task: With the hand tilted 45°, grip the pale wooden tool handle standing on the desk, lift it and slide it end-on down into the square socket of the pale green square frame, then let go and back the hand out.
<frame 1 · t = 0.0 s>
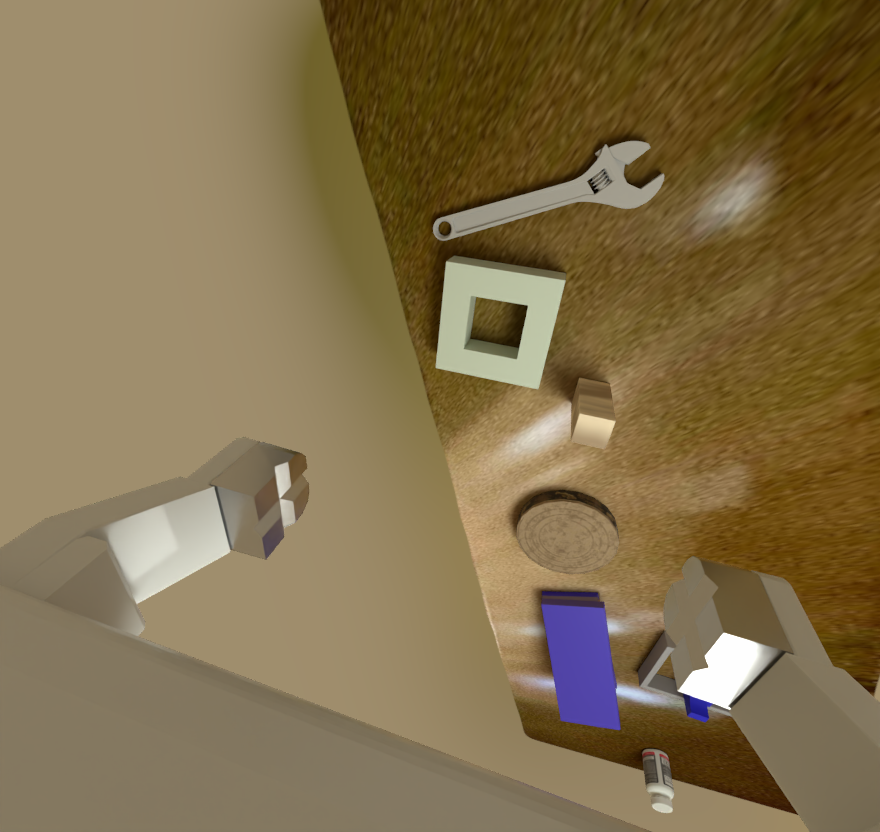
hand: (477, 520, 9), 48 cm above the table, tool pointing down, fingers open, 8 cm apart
pale green square frame: (499, 318, 56), on the table
pill bottle: (654, 753, 96), on the table
adjustable wrench: (539, 194, 48), on the table
stapler: (581, 636, 83), on the table
clip corral: (707, 669, 77), on the table
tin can: (566, 525, 70), on the table
blue cradle holder: (707, 669, 77), resting in clip corral
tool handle: (590, 393, 57), on the table
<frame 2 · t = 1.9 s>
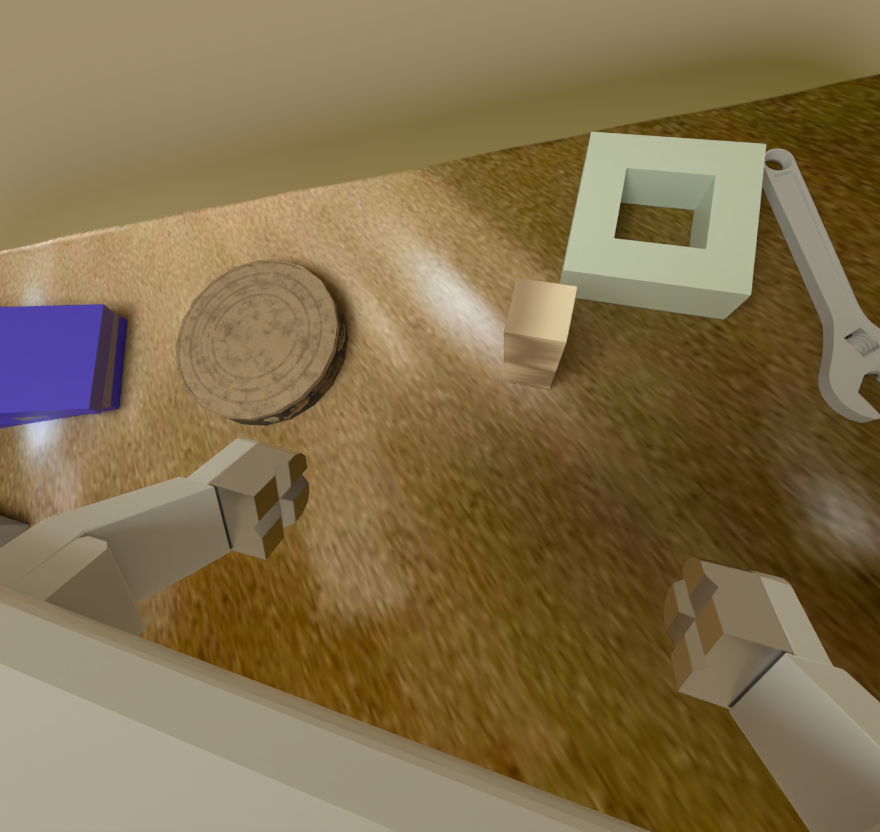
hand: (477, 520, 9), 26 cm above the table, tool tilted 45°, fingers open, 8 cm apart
pale green square frame: (648, 238, 38), on the table
adjustable wrench: (821, 281, 36), on the table
stapler: (15, 385, 45), on the table
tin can: (272, 349, 42), on the table
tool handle: (530, 364, 37), on the table
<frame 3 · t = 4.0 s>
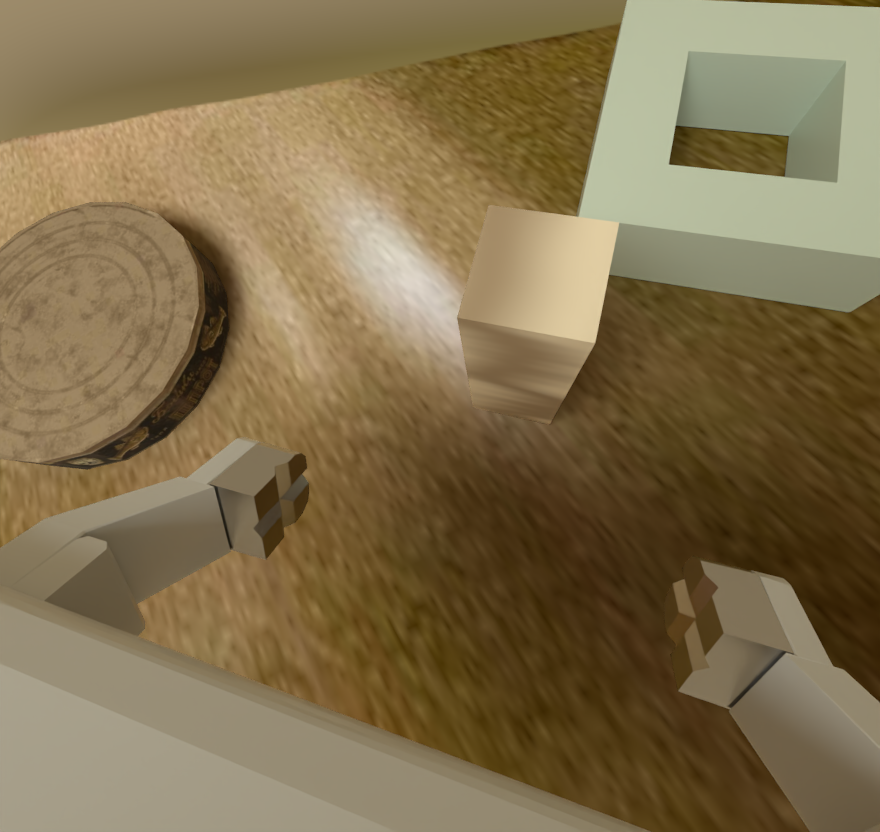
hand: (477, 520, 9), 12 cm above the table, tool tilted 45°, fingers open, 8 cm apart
pale green square frame: (714, 179, 24), on the table
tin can: (116, 344, 27), on the table
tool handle: (519, 380, 22), on the table
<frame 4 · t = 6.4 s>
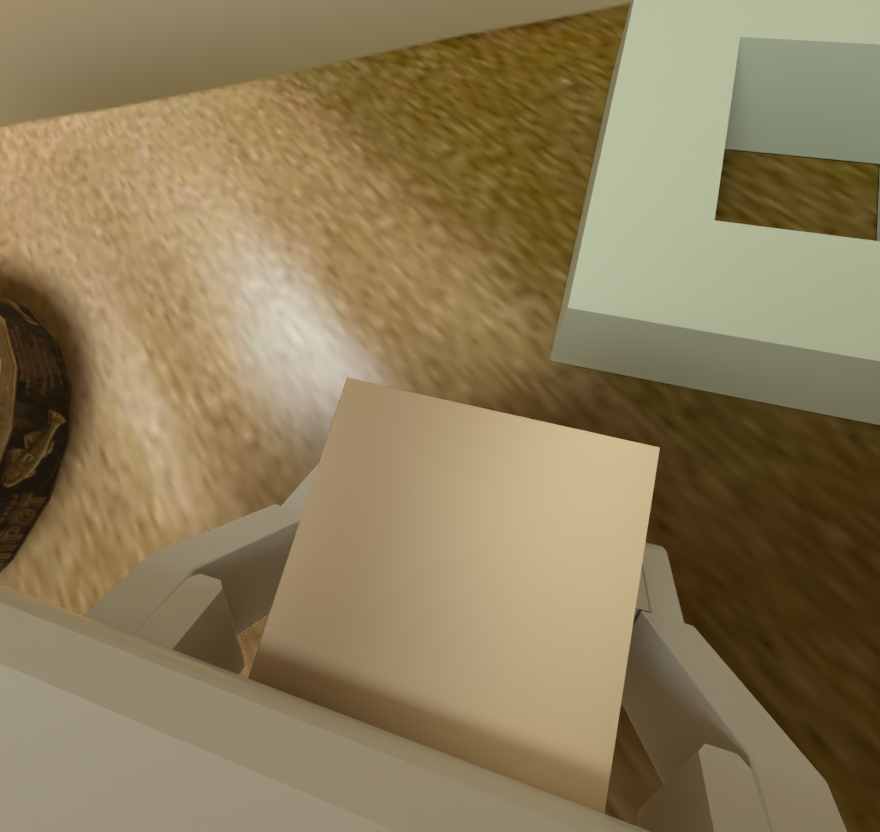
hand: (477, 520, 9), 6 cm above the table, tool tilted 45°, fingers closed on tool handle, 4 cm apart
pale green square frame: (771, 228, 16), on the table
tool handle: (479, 540, 14), on the table, touching gripper
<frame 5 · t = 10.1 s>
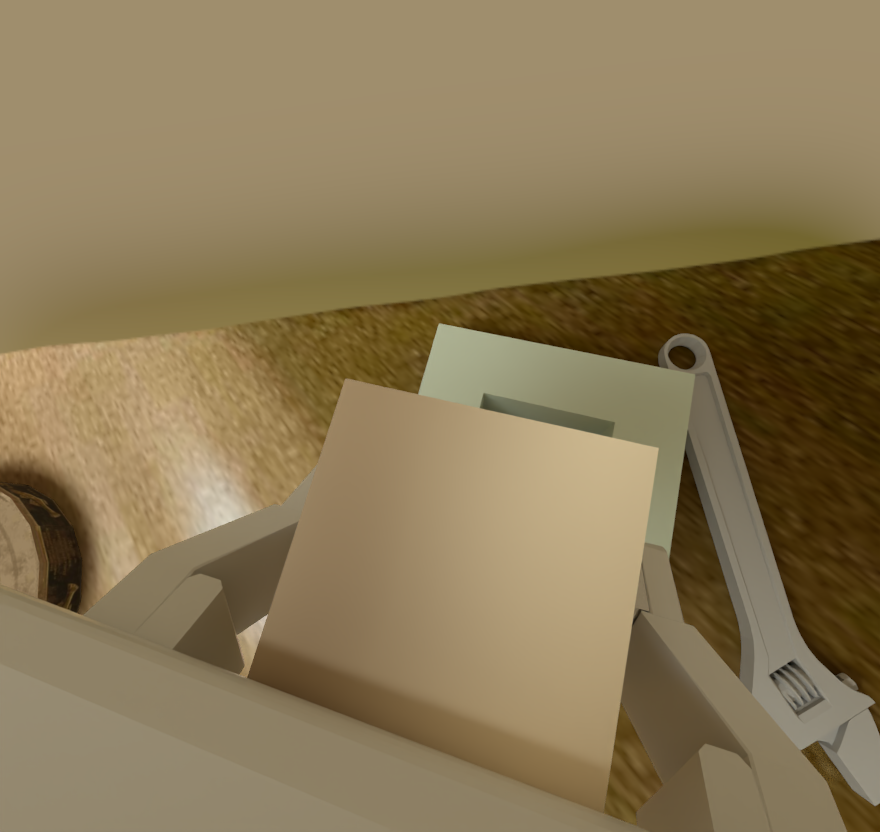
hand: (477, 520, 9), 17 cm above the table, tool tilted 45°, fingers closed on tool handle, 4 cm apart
pale green square frame: (526, 478, 25), on the table
adjustable wrench: (744, 548, 24), on the table
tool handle: (479, 540, 14), point 11 cm above the table, touching gripper
when the fingers open (7 cm above the table, at t = 13.8 s): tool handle drops 1 cm, resting in pale green square frame.
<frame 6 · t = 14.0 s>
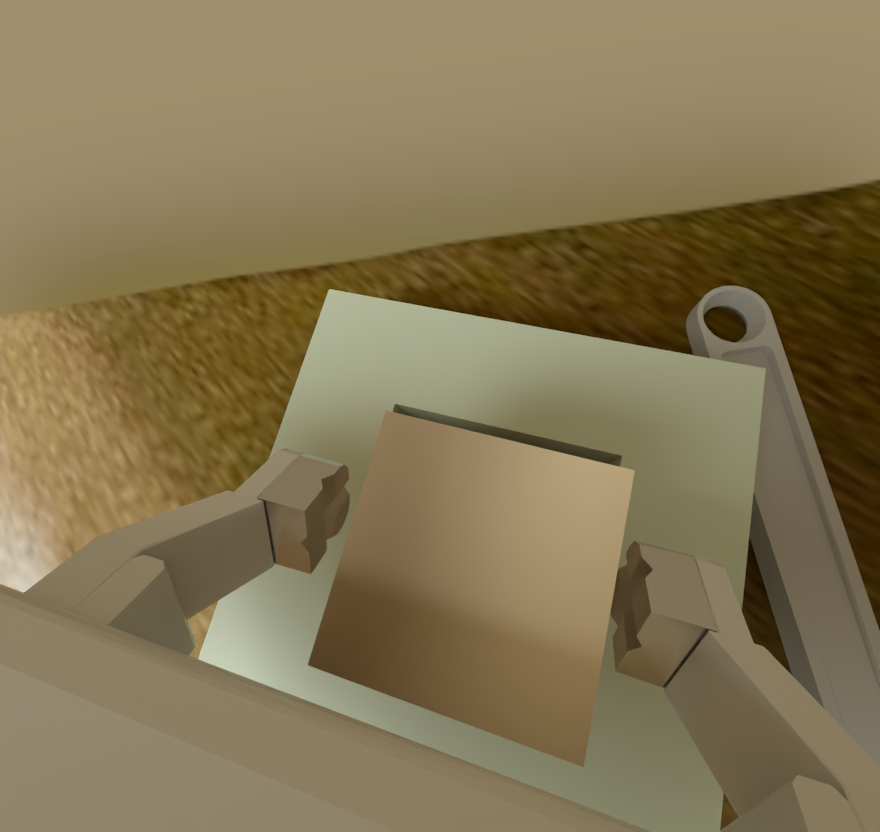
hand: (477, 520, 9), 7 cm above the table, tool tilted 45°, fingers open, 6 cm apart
pale green square frame: (479, 539, 16), on the table
adjustable wrench: (828, 638, 14), on the table, touching pale green square frame
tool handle: (484, 539, 16), resting in pale green square frame
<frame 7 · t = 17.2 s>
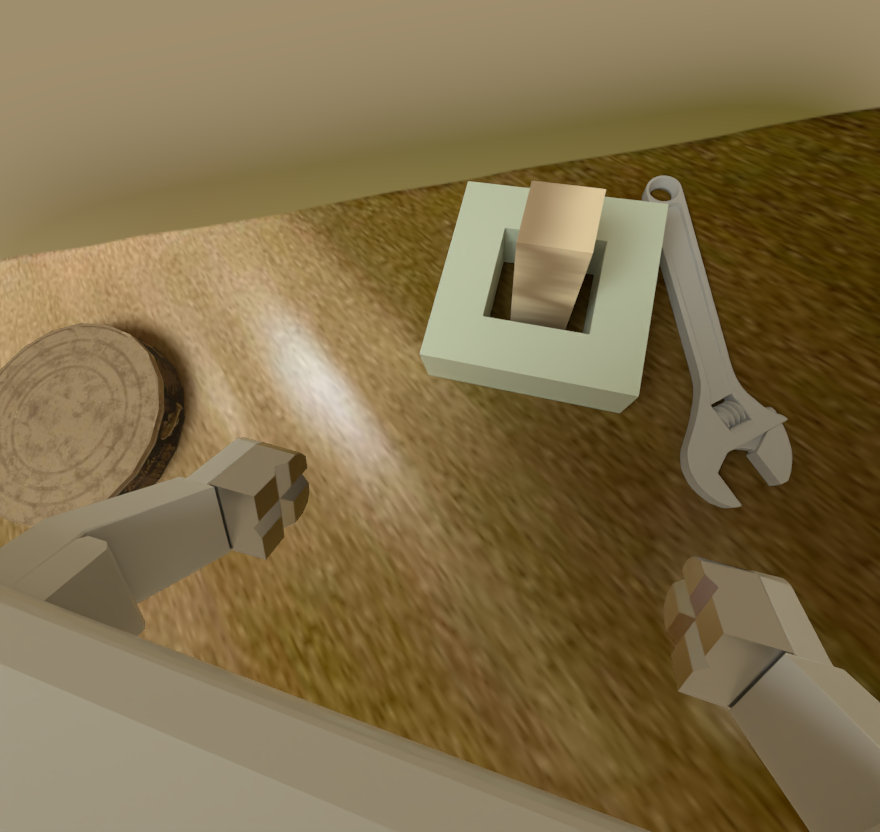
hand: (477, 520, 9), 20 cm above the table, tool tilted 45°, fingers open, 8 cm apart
pale green square frame: (539, 307, 32), on the table
adjustable wrench: (701, 333, 31), on the table
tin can: (100, 427, 35), on the table
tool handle: (541, 308, 32), resting in pale green square frame
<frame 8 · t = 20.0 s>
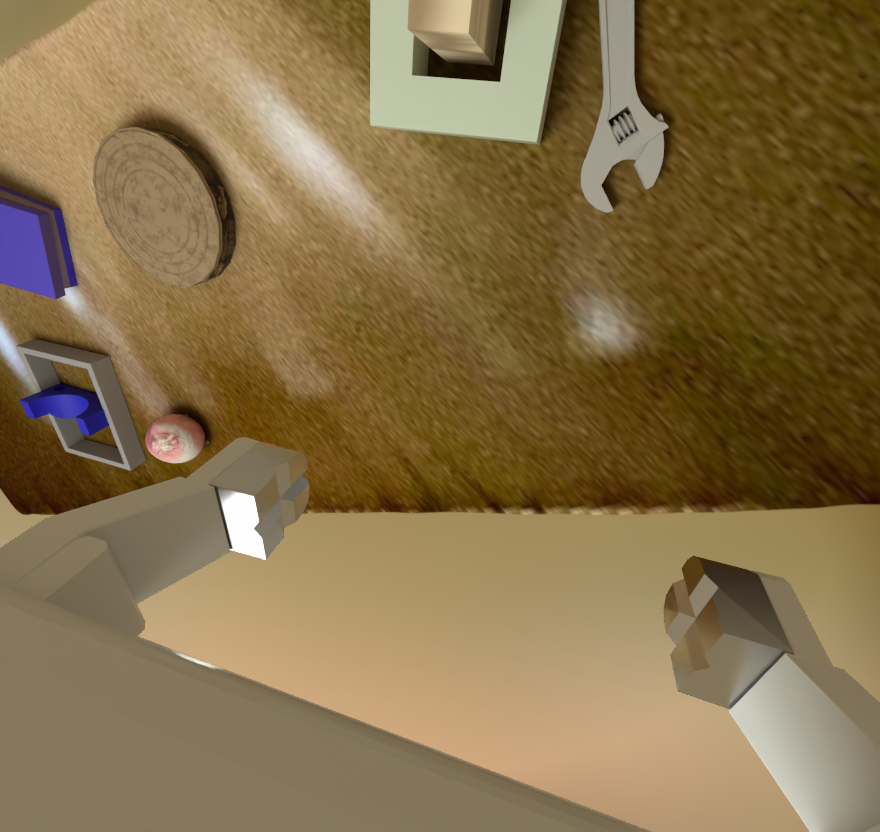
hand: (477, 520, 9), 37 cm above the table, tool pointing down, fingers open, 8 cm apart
pale green square frame: (471, 32, 34), on the table
adjustable wrench: (625, 25, 32), on the table
onion: (192, 427, 67), on the table
clip corral: (94, 403, 70), on the table
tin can: (178, 211, 49), on the table
blue cradle holder: (94, 403, 70), resting in clip corral
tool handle: (474, 31, 34), resting in pale green square frame
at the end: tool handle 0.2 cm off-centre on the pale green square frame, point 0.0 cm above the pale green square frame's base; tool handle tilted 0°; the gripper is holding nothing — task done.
